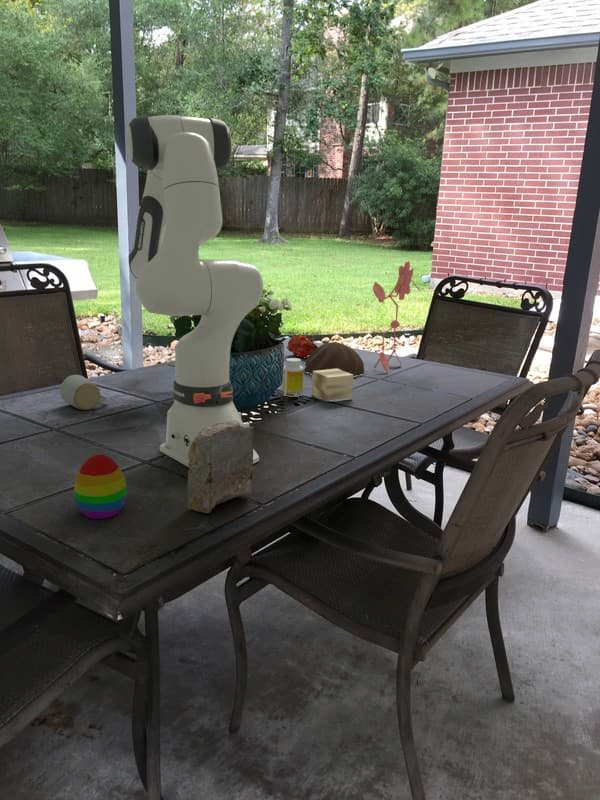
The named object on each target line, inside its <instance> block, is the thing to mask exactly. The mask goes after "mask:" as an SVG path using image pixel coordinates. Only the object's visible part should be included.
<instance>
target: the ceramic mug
mask: <svg viewBox="0 0 600 800" xmlns="http://www.w3.org/2000/svg"><path fill="white" fill-rule="evenodd" d="M59 391H60V392H59V394H60V397H61V398H62V400H63V401H64V402H65V403H67V404H68V405H70V406H72V407H73V408H76V409H78V410H81V411H89V410H91V409H93V408H95V407H96V406H97V405H98V404H100V405H104V406H106V405H108V404H109V400H110V399H109V398H108V397H106V396H105V395H102V394H101V392H100V389H99V387H98V386H97V385H96V384H95V383H94V382H92V381H90V380H89V379H88V378H86V377H85V376H83V375H80V374H72V375H68V376H67V377H66V378H64V380H63V381H62V383H61V385H60V389H59Z"/></svg>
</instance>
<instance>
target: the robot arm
mask: <svg viewBox="0 0 600 800" xmlns="http://www.w3.org/2000/svg"><path fill="white" fill-rule="evenodd" d="M125 146H126V147H125V148H126V151H127V153H128V155H129V158H130V160H131V163H132V164H134V165H135V166H136V167H138V168H140V169H144V170H146V171H147V173H146V179H145V185H144V189H143V194H142V198H141V202H140V205H139V209H138V214H137V222H136V229H135V236H134V243H133V244H134V245H133V249H132V250H131V252H130V253H129V255H128V266H129V269H130V272H131V274H132V276H133V277H134V278H135V279H136V282H135V283H136V284H135V287H136V288H135V290H136V295H137V298H138V301H139V302H140V304H141V305H142V307H143V308H144V309H145V310H146V311H147V312H148V313H150V314H156V315H163V316H169V317H180V316H181V317H182V316H183V317H184V316H201V317H200V320H199V323H198V324H197V325H196V327H195V328H194V329H193V330H192V331H190V332H188V333H186V334H185V335H183V336H182V337H181V338H180V339H179V340H178V342H177V343H176V346H175V348H174V364H175V365H174V367H175V369H174V371H175V372H174V374H175V379H174V380H173V387H172V393H173V399H174V401H173V404H172V405H171V407H170V408H169V409H168V410H167V414H166V433H165V434H166V437H165V439H166V440H165V442H163V443H162V444H161V445H159V452H161V453H163V454H164V455H165V456H167V457H170V458H171V459H173V460H174V461H177V462H178V463H180V464H182V465H184V466H185V467H188V462H189V461H190V460H189V456H188V451H189V448H190V445H191V443H192V440H193V438H194V437H195V436H196V434H197V433H198V432H199V431H201V430H202V429H203V428H206V427H208V426H210V425H213V424H215V423H223V422H230V421H232V420H237V421H238V422H239V423H240V424H242V425H244V426H245V427H251V425H250V423H249V421H246V422H243V419H242V413H241V412H239V411H238V410H237V408H236V406H235V403H234V401H233V400H234V395H233V394H234V393H233V392H234V390H233V386H232V381H231V380H230V361H231V360H230V359H231V349H232V348H231V347H232V343H233V340H234V337H235V333H236V331H237V330H238V327H239V326H240V324H241V323H242V321H243V320H244V318H246V316H247V315H248V314H249V313H250V312H252V311H253V310H254V309H255V308H257V306H258V305H259V304H260V301H261V299H262V297H263V292H264V281H263V277H262V275H261V273H260V271H259V269H258V268H257V266H255V265H254V264H253V263H250V262H246V261H242V260H236V259H233V258H232V259H231V258H229V259H226V258H225V259H219V258H217V259H214V258H213V259H212V258H211V259H208V258H206V259H202V258H200V256H199V249H200V246H201V245H203V244H205V243H207V242H209V241H211V240H213V238H215V237H217V235H218V234H220V232H221V229H222V227H223V222H224V221H223V211H222V204H221V203H222V202H221V194H220V193H221V192H220V183H219V177H218V172H217V171H218V170H223V169H224V168H226V167H227V166H228V165H229V163H230V160H231V156H232V153H233V147H234V146H233V139H232V135H231V131H230V127H229V126H228V125H227V124H226V123H225V122H224V121H223V120H221V119H218V118H214V117H208V118H205V117H196V116H189V115H188V116H186V115H185V116H184V115H179V114H167V115H166V114H165V115H164V114H163V115H153V116H149V115H142V116H141V115H140V116H136V117H134V118H132V119H131V121H129V122H128V128H127V129H126V135H125ZM259 461H260V456H259V454H258V453H257V451H256V450H255V449H254V448H253V465H254V464H256V463H257V462H259ZM188 468H189V467H188Z"/></svg>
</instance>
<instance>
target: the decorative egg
mask: <svg viewBox="0 0 600 800" xmlns="http://www.w3.org/2000/svg"><path fill="white" fill-rule="evenodd" d="M73 492H74V500H75V503H76V505H77V507H78V509H79V511H80V512H81V513H82V514H83V515H84V516H86V517H87V518H90V519H93V520H104V519H108V518H112V517H114V516H116V515H117V514H118V513H119V512H120V511H121V510H122V508H123V506H124V504H125V501H126V498H127V481H126V479H125V475H124V472H123V471H122V468H121V467H120V465H118V463H117V462H116V461H115V460H114V459H112V458H111V457H110V456H108V455H105V454H99V453H98V454H94V455H92V456H90V457H89V458H88V459H86V460H85V461H84V462H83V464H82V465H81V466H80V468H79V470H78V473H77V474H76V477H75V481H74V490H73Z"/></svg>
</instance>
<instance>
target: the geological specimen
mask: <svg viewBox="0 0 600 800" xmlns="http://www.w3.org/2000/svg"><path fill="white" fill-rule="evenodd" d="M254 429H255V428H254V427H253V426H250V427H245V426H244V425H242V424H240V423H239V422H238V421H237V420H232V421H230V422H223V423H215V424H213V425H210V426H208V427H206V428H203V429H202V430H201V431H199V432H198V433H197V434H196V436H195V437H194V438H193V440H192V443H191V445H190V448H189V451H188V456H189V460H190V461H189V462H188V469H189V470H188V471H187V508H189V509H190V510H191V509H192V510H194V511H195V512H200V513H205V514H209V513H211V511H212V509H214V508H215V506H216V505H220V504H223V503H225V502H226V501H229V500H231V499H232V500H233V499H234V498H236V497H239V496H242V495H245V494H246V495H251V494H252V492H253V477H254V475H253V473H254V472H253V471H254V470H253V469H254V464H253V449H254Z"/></svg>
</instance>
